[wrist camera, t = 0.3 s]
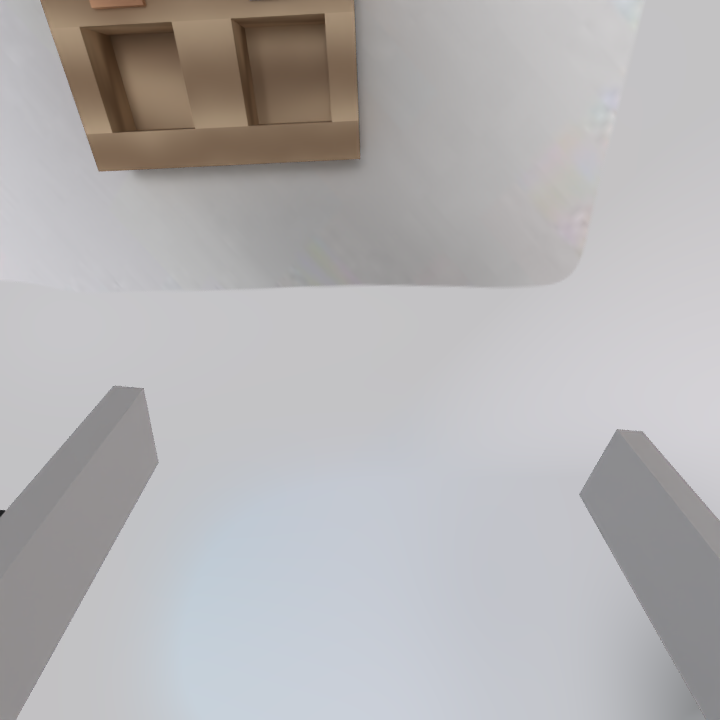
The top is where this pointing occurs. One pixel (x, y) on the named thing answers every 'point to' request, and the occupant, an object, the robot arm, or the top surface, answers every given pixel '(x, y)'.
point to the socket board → (210, 80)
